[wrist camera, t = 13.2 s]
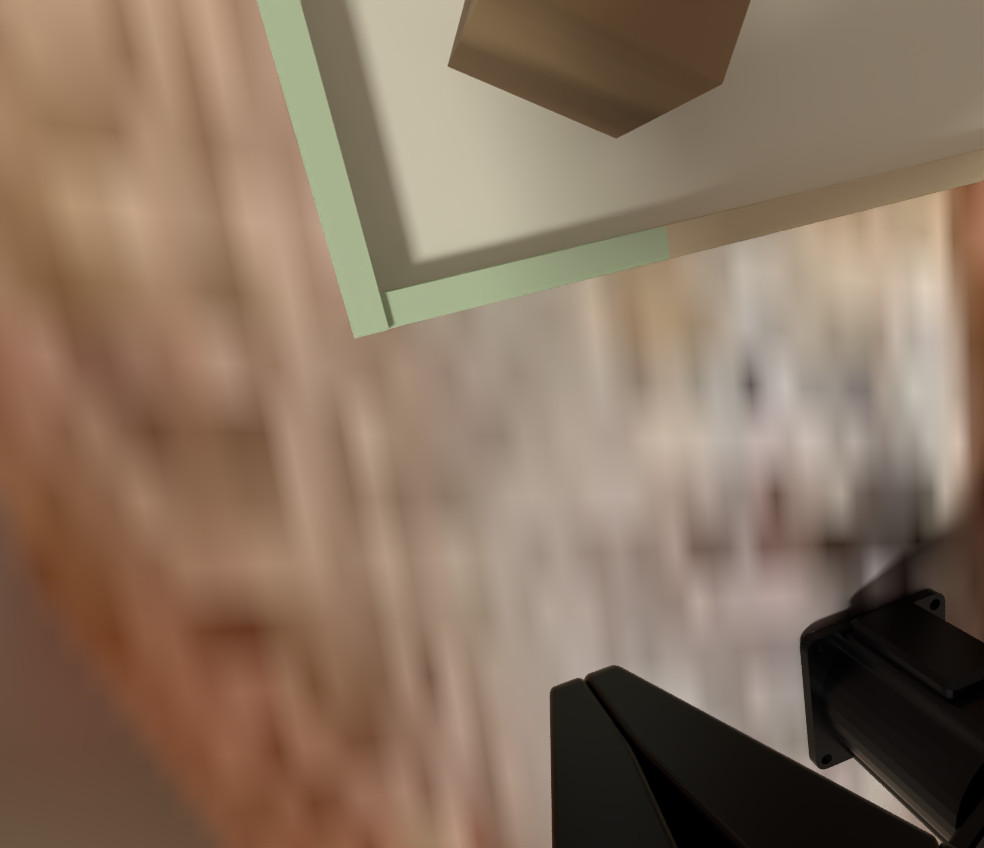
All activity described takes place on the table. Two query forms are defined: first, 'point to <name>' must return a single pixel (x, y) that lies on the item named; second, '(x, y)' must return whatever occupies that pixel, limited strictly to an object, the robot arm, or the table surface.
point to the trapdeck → (609, 146)
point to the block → (600, 54)
